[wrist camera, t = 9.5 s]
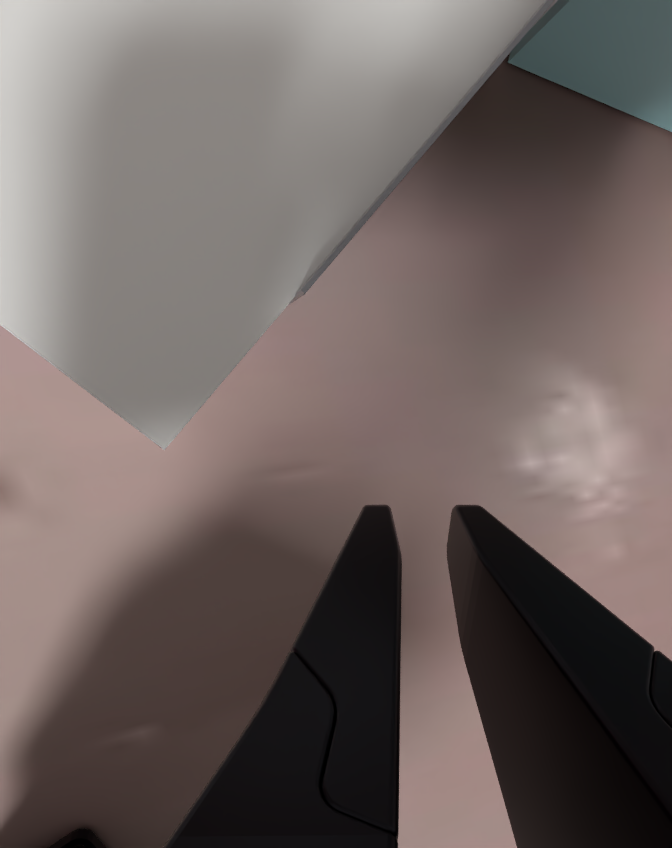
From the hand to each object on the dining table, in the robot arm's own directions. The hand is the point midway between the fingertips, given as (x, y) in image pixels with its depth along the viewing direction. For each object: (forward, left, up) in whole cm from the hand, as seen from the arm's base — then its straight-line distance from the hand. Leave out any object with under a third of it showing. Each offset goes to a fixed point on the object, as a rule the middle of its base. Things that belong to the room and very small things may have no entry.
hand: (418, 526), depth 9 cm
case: (+9, -3, -11) cm, 14 cm away
